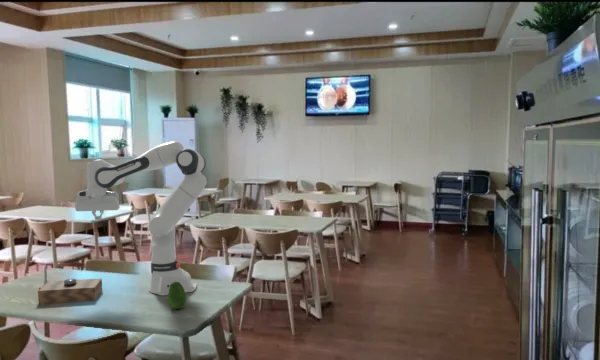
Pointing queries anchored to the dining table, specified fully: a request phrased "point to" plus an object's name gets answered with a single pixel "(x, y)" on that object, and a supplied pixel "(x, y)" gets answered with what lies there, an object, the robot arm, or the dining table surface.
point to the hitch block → (70, 291)
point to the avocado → (176, 296)
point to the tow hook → (44, 276)
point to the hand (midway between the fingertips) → (98, 219)
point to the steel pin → (69, 282)
